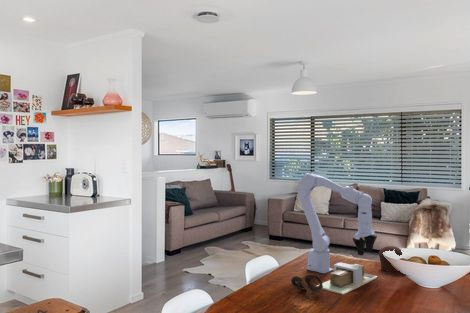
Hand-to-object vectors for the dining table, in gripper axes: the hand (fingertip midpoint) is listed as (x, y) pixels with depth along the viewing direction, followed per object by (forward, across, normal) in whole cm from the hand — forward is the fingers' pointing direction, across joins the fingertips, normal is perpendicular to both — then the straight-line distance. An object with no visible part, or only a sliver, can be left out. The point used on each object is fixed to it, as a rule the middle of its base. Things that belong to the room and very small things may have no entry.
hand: (364, 253), depth 170 cm
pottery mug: (+10, -36, +5) cm, 38 cm away
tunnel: (+9, -14, 0) cm, 17 cm away
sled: (+8, -14, 0) cm, 16 cm away
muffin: (+10, +17, -4) cm, 20 cm away
